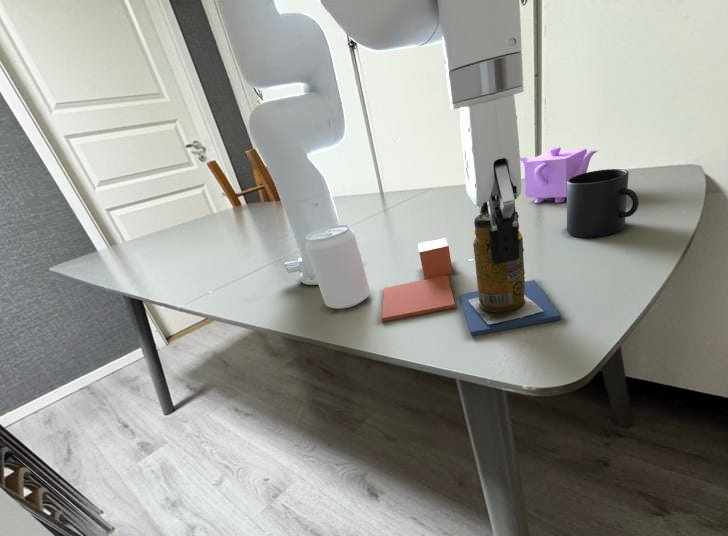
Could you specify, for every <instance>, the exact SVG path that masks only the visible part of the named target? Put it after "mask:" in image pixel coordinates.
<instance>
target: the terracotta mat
mask: <svg viewBox="0 0 728 536" xmlns="http://www.w3.org/2000/svg"><path fill="white" fill-rule="evenodd" d="M456 308H457V307H456V302H455V298H454V293H453V290H452V286H451V283H450V279H449V275H444V276H440V277H435V278H430V279H422V280H417V281H416V280H415V281H411V282H406V283H402V284H397V285H392V286H387V287H384V292H383V300H382V309H381V322H387V321H394V320H400V319H403V318H410V317H414V316H418V315H425V314H430V313H434V312H441V311H444V310H445V311H446V310H451V309H456Z"/></svg>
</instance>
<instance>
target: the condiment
mask: <svg viewBox="0 0 728 536" xmlns="http://www.w3.org/2000/svg"><path fill="white" fill-rule="evenodd" d="M496 212H497V210H495V215H496ZM516 217H517V225H518V238H519V255H520V257H519V259H517V260H513V261H508V262H503V263H498V264H494V263H493V262H492V258H491V248H490V238H489V230H492V229H491V224H490V217H489V211H488V212H485V213H482V214H480V213H479V214H478V215H477V216H476V217H475V218H474V221H473V224H474V236H475V237H474V240H473V243H472V246H473V254H474V255H473V256H474V266H475V276H476V285H477V291H478V295H479V297H478V298H474V299H470V300H468V301H469V302H470V304H471V305H472V306H473V307H474V309H475V310H476V311H477V312H478V313H479V314H480V316H481V317H482V318H483V319H484V320H485V321H486V323H487V324H493V323H499V322H504V321H509V320H513V319H516V318H522V317H524V316H527V315H532V314H535V313H538V312H542V311H543V310H542V309H541V308H540V307H538V305H537V304H535V303H534V302H533V301H531V300H530V299H529V298H527V297H526V296H525V295H524V293H525V291H524V290H525V282H526V281H525V278H526V277H525V274H526V273H525V261H524V259H525V258H524V251H525V249H524V241H523V240H524V239H523V234H522V233H521V232H520V231H519V230H520V224H519V219H518V218H519V217H520V216H519V213H518V211H516Z"/></svg>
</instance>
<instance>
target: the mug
mask: <svg viewBox="0 0 728 536" xmlns="http://www.w3.org/2000/svg"><path fill="white" fill-rule="evenodd" d="M629 174H630V173H629V171H628V170H627V169H622V168H607V169H599V170H593V171H587V172H586V173H583V174H579V175H576V176H574V177H571V178H570V179H568V180H567V197H566V231H567V234H568V235H570V236H573V237H577V238H599V237H604V236H609V235H613V234H615V233H618V232H620V231H622V230H623V229H624V227H625V225H626V218H628V217H632V216H633V215H634V214H635V213H636V212H637V210H638V209H639V205H640V200H639V195H638V194H637V193H636V192H635V191H634V190H633V189H630V188H629V176H630V175H629ZM628 197H629V198H630V199H631V201H632V205H631V208H630V209H629V210H628V211H627V201H628Z"/></svg>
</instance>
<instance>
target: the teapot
mask: <svg viewBox="0 0 728 536" xmlns="http://www.w3.org/2000/svg"><path fill="white" fill-rule="evenodd" d="M561 149H562V148H561V147H560V146H556V147H552V148H549V149H548V152H544V153H542V154H540V155H537V156H535V157H533V158H531V159H529V158H527V157H525V156H520V163H521V164H522V165H523V168H524V184H525V185H524V187H525V198H526V199H527V198H528V199H529V198H531V199H532V198H533V199H534V198H536V199H535V200H534V203H535V204H538V203H543V202H544V201H545V199H546V198H554V203H557V204H558V203H563V202H565V201H566V198H567V180H568V179H570V178H571V177H574V176H576V175H579V174H583V173H587V172H588V169H589V165H590V161H591V159H592V157H593V156H594V154H596V153H598V152H599V151H600V150H599V149H595V150H590V151H588V150H587V148H582V149H572V150H571V149H570V150H561ZM587 151H588V152H587Z"/></svg>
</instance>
